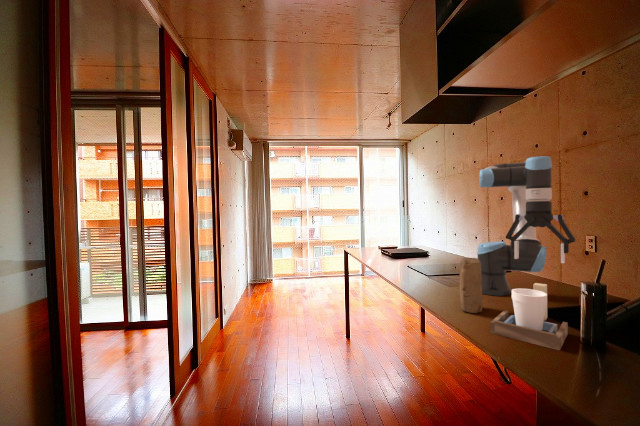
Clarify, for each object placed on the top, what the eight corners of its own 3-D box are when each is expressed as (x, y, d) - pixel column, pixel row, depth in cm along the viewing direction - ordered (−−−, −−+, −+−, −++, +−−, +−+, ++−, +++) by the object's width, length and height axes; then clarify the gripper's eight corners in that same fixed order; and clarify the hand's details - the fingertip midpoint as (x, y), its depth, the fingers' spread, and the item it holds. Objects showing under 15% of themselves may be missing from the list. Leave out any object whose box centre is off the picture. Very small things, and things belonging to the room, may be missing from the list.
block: (483, 315, 114) (482, 261, 114) (460, 313, 117) (460, 260, 117) (479, 306, 124) (478, 256, 124) (459, 304, 127) (458, 256, 127)
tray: (520, 312, 116) (520, 280, 115) (563, 321, 107) (563, 286, 106) (500, 332, 98) (500, 295, 98) (549, 345, 89) (549, 303, 89)
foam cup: (548, 342, 91) (548, 298, 91) (511, 335, 96) (511, 294, 96) (545, 330, 99) (545, 290, 99) (511, 325, 104) (511, 287, 104)
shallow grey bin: (504, 319, 109) (504, 308, 109) (567, 333, 97) (567, 321, 97) (490, 332, 98) (490, 320, 98) (559, 350, 86) (559, 336, 86)
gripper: (496, 201, 115) (496, 258, 116) (583, 199, 98) (583, 266, 98) (502, 201, 121) (502, 255, 121) (586, 199, 103) (586, 263, 103)
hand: (538, 260), depth 110 cm, fingers open, 13 cm apart
